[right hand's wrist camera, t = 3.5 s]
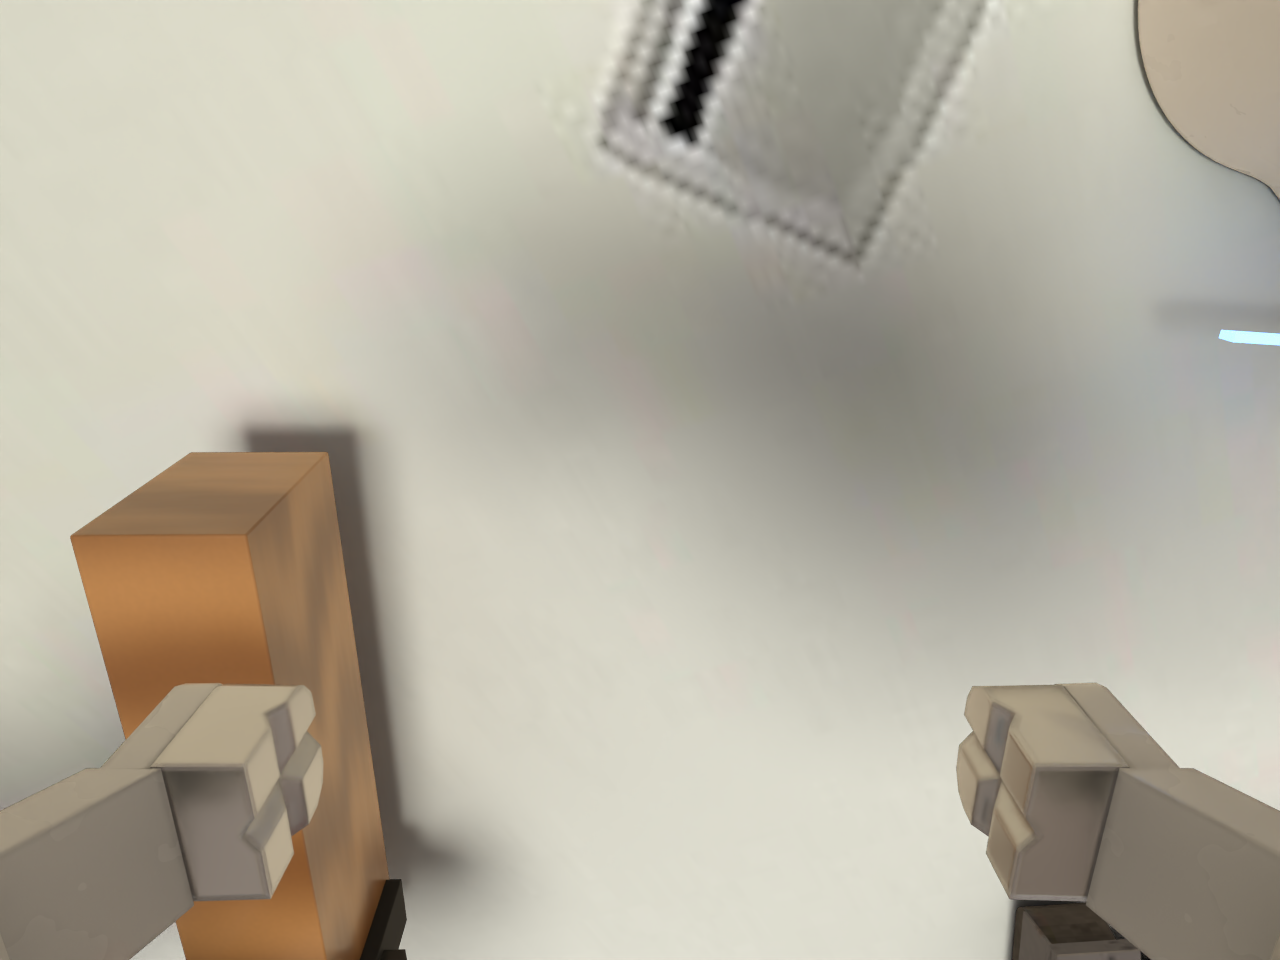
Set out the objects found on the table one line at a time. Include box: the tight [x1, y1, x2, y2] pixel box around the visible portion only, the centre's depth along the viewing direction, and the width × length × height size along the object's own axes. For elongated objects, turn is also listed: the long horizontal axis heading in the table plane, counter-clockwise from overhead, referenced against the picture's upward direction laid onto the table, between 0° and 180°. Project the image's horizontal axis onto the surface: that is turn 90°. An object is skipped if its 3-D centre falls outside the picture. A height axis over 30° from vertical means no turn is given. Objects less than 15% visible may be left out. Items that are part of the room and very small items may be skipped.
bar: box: [70, 452, 389, 960], centre depth 35 cm, size 27×6×8 cm, turn 0°
